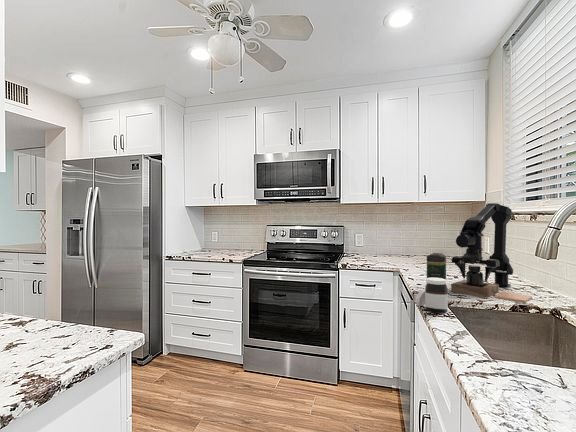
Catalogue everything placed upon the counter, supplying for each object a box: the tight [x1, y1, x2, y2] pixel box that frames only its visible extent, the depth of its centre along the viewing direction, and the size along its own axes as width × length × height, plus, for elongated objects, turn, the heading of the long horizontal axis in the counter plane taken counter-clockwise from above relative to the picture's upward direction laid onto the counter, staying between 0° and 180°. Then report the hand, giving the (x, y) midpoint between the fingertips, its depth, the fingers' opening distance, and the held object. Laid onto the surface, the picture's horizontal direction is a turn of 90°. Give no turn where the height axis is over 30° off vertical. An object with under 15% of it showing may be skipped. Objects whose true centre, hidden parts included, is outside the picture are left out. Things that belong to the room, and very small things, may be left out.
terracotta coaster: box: [493, 291, 533, 303], centre depth 137 cm, size 11×11×1 cm
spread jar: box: [415, 277, 449, 314], centre depth 122 cm, size 12×11×12 cm
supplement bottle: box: [465, 264, 484, 287], centre depth 148 cm, size 7×7×12 cm
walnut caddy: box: [450, 279, 500, 298], centre depth 148 cm, size 15×15×4 cm
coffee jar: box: [426, 252, 447, 280], centre depth 145 cm, size 10×8×19 cm
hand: (474, 279), depth 148 cm, fingers open, 9 cm apart
